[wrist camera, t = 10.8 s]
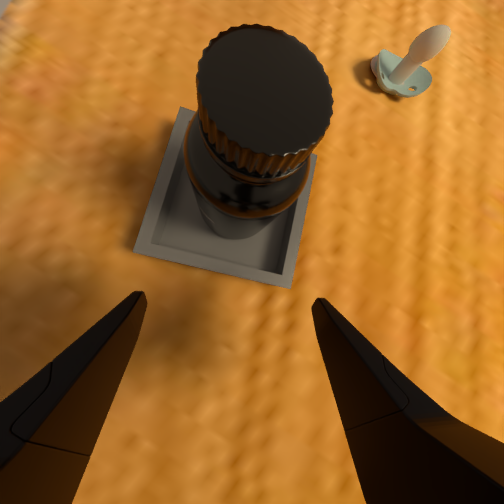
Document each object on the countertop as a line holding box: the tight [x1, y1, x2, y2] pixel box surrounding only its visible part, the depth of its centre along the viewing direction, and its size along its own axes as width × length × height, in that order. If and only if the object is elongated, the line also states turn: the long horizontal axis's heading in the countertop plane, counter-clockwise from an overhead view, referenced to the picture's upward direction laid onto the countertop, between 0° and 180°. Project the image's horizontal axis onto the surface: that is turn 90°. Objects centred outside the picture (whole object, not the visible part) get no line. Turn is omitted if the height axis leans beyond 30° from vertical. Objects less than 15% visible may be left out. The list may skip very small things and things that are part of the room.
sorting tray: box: [133, 106, 317, 289], centre depth 17 cm, size 13×13×2 cm
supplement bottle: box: [184, 24, 334, 240], centre depth 12 cm, size 7×7×12 cm
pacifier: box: [371, 25, 451, 98], centre depth 21 cm, size 7×6×6 cm
